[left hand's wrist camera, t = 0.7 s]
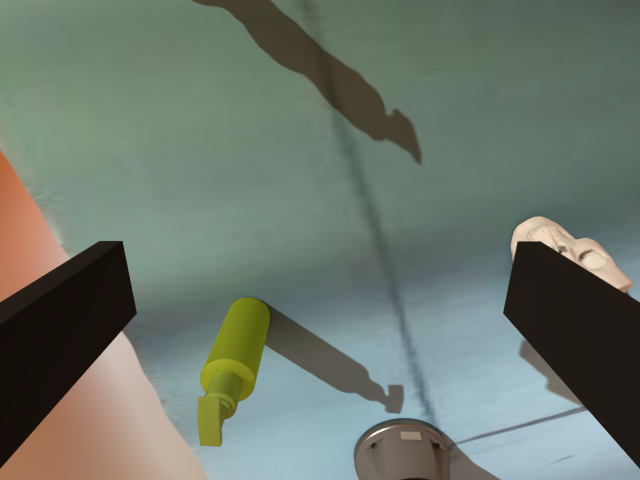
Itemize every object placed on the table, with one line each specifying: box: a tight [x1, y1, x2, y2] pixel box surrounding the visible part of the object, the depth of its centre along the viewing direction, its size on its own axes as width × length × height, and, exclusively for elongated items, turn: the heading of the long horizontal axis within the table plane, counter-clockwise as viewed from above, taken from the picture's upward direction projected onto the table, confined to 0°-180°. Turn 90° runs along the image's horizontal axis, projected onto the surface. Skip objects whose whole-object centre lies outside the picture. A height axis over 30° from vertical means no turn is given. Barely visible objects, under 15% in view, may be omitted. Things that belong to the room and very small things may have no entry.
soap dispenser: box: [198, 297, 270, 446], centre depth 42 cm, size 6×7×20 cm
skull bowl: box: [511, 216, 633, 292], centre depth 46 cm, size 10×14×12 cm
